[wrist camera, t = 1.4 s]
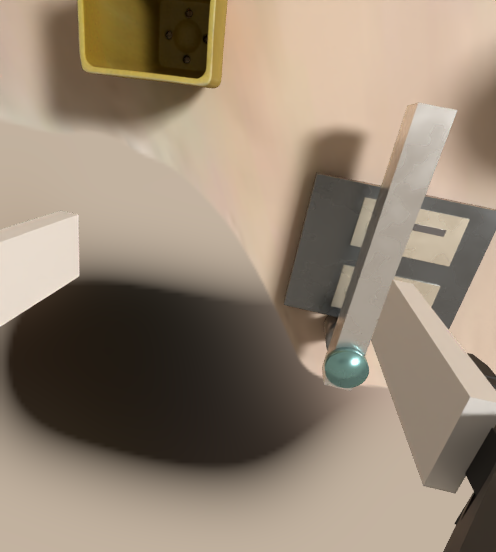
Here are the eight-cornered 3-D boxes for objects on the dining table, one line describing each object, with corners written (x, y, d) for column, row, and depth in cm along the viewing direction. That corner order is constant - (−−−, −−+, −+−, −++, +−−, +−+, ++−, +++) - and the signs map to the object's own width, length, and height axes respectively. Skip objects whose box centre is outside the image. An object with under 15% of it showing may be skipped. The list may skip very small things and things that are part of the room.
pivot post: (320, 333, 38) (323, 354, 34) (327, 310, 36) (330, 330, 33) (346, 339, 37) (351, 361, 34) (354, 316, 36) (360, 337, 33)
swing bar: (353, 375, 34) (358, 398, 31) (316, 366, 34) (317, 388, 31) (450, 114, 25) (471, 111, 22) (399, 104, 25) (413, 99, 22)
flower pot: (137, -36, 28) (69, -109, 20) (246, -26, 27) (223, -97, 19) (137, 89, 31) (79, 71, 23) (234, 100, 31) (210, 87, 22)
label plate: (284, 299, 37) (283, 306, 35) (316, 172, 32) (317, 174, 30) (438, 334, 36) (444, 342, 34) (496, 209, 31) (506, 213, 29)
